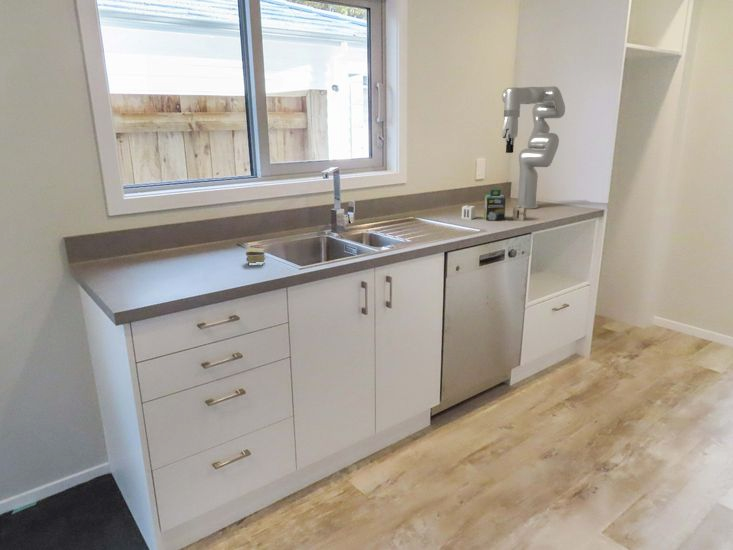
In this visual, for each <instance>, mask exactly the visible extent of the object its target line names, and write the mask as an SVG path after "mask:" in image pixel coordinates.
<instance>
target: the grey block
mask: <svg viewBox="0 0 733 550" xmlns="http://www.w3.org/2000/svg"><path fill="white" fill-rule="evenodd" d="M475 215H476V206H475V205H463V206H461V219H462V220H474V219H476V218H475V217H476V216H475ZM473 218H474V219H473Z"/></svg>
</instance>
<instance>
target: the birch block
mask: <svg viewBox="0 0 733 550" xmlns="http://www.w3.org/2000/svg"><path fill="white" fill-rule="evenodd" d="M527 210H528V209H527V207H522V206H516V207H515V206H514V207H513V210H512V220H513V221H522V222H523V221H525V220H526V219H527Z"/></svg>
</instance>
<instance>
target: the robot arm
mask: <svg viewBox="0 0 733 550" xmlns="http://www.w3.org/2000/svg"><path fill="white" fill-rule="evenodd" d="M501 100H502V102H503V103H504V106H503V107H504V109H503V118H504V119H503V123H502V124H503V125H502V133H501V138H503V139H505V153H507V154H513V153H514V148H515V147H514V144H515V139H516V138H517V137H518V131H519V130H518V129H519V127H518V126H519V118H520V115H521V114H520V113H521V105H534V106H533V108H532V120H533V129H532V131H531V134H530V136H529V138H528V141H527V148H524V149H522V150H520V151H519V154H518V162H519V163H518V164H519V165H518V166H519V178H518V192H517V193H518V195H517V203H516V204H514V207H516V206H522V207H527V210H530V209H531V210H532V209H538V208H539V205H538V204H537V203H536V202H537V190H538V177H539V176H538V172H537V170H536V168H548V167H550V166H551V165H552V163H553V160H554V158H555V156H556V153H557V150H558V149H559V143H560V138H559V135H558V134H557V133H554V132H550V130H551V128H550V125H549V124H548V122H547V121H546V120H545V119H561V118H562V117H563V116H565V113H566V105H565V102H564V98H563V95H562V92H561V90H560V88H559V87H558V86H552V85H551V86H526V87H525V86H524V87H513V86H512V87H506V88H505V89H504V90H503V92H502V93H501Z"/></svg>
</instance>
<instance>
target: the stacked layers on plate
mask: <svg viewBox="0 0 733 550" xmlns="http://www.w3.org/2000/svg"><path fill="white" fill-rule="evenodd" d="M265 254H266V251H265V248H261V247H248V248H245V255H246V262H247V264H248V263H256V262H264V260H265V261H266V259H267V257H265Z"/></svg>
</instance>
